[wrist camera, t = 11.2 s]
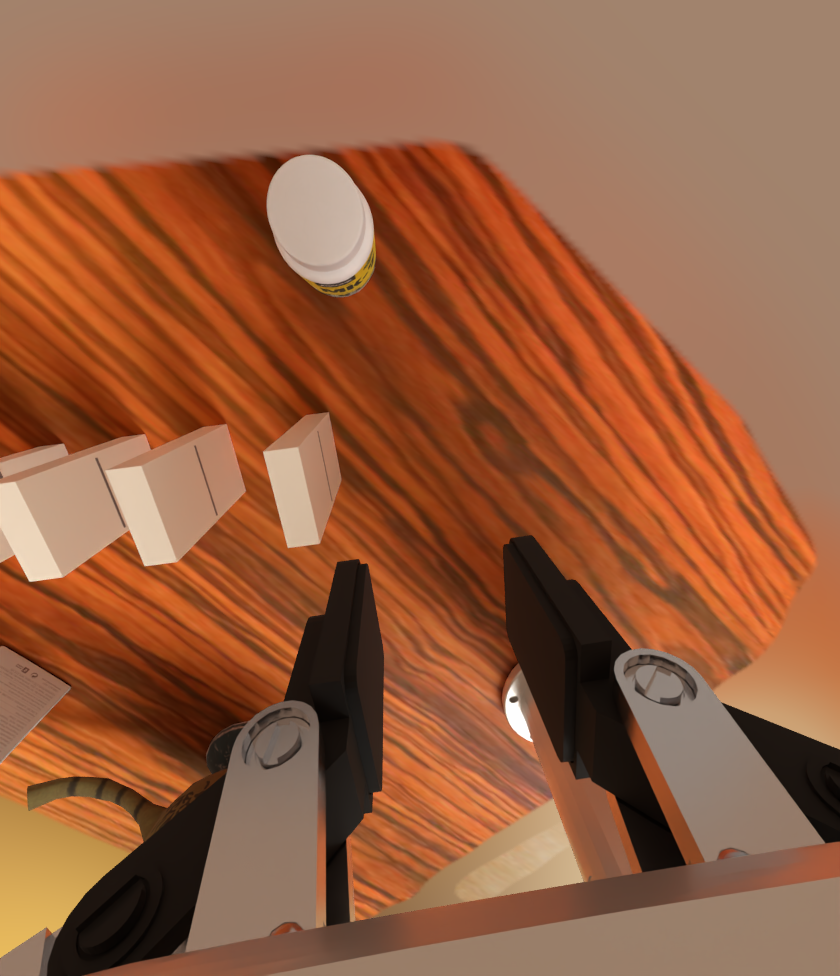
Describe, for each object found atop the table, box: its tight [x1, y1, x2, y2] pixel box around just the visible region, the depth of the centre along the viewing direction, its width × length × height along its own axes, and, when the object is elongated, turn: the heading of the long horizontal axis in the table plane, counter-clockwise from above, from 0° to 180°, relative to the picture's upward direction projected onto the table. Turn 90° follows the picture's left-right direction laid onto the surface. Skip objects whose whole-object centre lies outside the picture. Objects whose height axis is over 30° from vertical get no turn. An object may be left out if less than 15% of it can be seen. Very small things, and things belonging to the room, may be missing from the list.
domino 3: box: [105, 424, 246, 566], centre depth 23 cm, size 2×5×10 cm, turn 7°
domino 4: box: [263, 412, 342, 548], centre depth 23 cm, size 2×5×10 cm, turn 6°
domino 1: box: [0, 443, 69, 563], centre depth 23 cm, size 2×5×10 cm, turn 6°
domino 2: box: [0, 434, 151, 582], centre depth 23 cm, size 2×5×10 cm, turn 6°
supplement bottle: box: [267, 155, 376, 297], centre depth 20 cm, size 5×5×8 cm
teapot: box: [27, 721, 249, 843], centre depth 26 cm, size 12×25×23 cm, turn 75°
